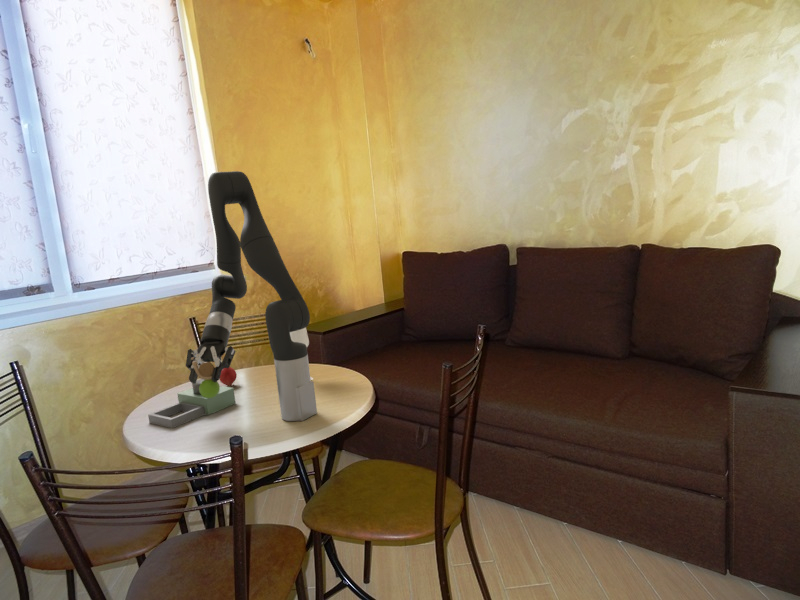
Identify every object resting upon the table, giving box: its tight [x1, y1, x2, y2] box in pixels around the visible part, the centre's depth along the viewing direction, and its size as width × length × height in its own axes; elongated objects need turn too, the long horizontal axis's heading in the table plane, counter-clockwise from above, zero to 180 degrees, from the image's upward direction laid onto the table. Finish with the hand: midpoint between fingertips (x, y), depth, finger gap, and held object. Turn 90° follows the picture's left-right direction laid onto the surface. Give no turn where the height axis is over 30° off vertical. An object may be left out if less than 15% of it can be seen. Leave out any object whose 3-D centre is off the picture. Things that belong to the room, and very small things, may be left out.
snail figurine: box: [191, 357, 221, 398], centre depth 144 cm, size 5×6×12 cm
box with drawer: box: [147, 378, 236, 429], centre depth 155 cm, size 14×21×8 cm, turn 148°
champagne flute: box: [290, 327, 314, 381], centre depth 177 cm, size 7×7×24 cm
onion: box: [219, 366, 237, 387], centre depth 179 cm, size 6×6×8 cm
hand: (203, 381), depth 143 cm, fingers closed on snail figurine, 6 cm apart
